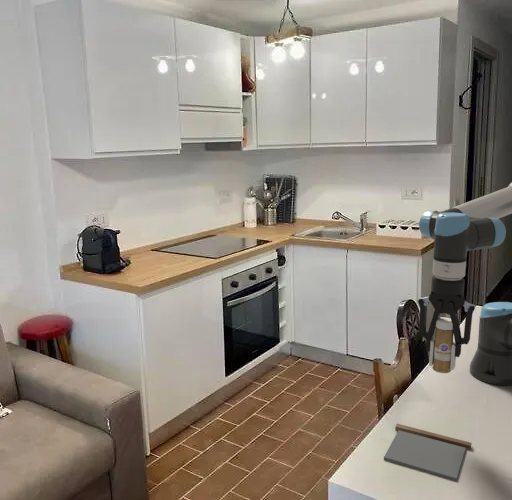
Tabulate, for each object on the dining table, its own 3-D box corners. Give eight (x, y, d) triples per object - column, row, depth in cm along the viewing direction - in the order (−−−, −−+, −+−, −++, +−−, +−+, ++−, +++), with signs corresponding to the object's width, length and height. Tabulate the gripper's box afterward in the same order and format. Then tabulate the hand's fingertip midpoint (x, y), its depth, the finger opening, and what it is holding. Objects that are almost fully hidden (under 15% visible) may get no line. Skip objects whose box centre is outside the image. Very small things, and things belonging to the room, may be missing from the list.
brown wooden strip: (396, 427, 135) (397, 423, 135) (471, 446, 126) (471, 442, 126) (395, 429, 134) (395, 426, 134) (470, 449, 125) (470, 445, 125)
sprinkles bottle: (435, 374, 130) (439, 323, 127) (429, 366, 135) (433, 316, 132) (454, 374, 130) (458, 322, 127) (447, 366, 135) (451, 316, 132)
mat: (398, 432, 133) (398, 430, 133) (465, 450, 125) (465, 447, 125) (383, 459, 122) (383, 457, 122) (456, 480, 114) (456, 478, 114)
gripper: (408, 275, 128) (403, 364, 133) (485, 285, 120) (477, 379, 125) (415, 269, 135) (410, 353, 140) (489, 277, 126) (481, 367, 131)
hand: (442, 365), depth 132 cm, fingers closed on sprinkles bottle, 4 cm apart
